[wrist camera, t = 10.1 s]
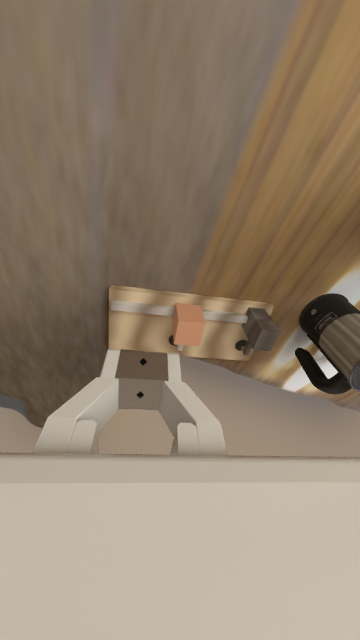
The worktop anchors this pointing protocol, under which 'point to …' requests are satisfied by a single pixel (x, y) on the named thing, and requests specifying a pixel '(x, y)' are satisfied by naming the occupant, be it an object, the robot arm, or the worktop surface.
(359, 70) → the worktop surface
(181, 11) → the worktop surface
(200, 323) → the block
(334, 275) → the worktop surface
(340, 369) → the milk frother
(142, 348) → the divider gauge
